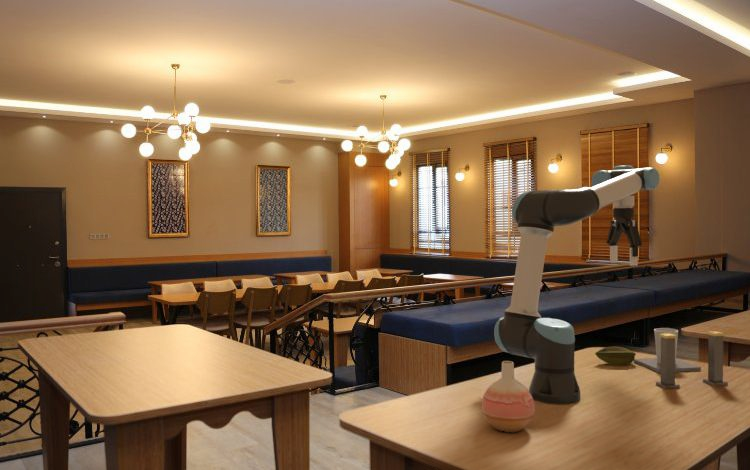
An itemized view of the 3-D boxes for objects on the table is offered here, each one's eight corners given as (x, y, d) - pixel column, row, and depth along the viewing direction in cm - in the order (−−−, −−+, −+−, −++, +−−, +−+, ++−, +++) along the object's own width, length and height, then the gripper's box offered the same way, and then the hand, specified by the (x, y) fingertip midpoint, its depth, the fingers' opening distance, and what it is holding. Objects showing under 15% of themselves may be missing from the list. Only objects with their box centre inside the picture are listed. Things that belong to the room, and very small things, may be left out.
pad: (659, 372, 219) (659, 369, 219) (633, 362, 235) (633, 359, 235) (700, 370, 221) (700, 367, 221) (672, 360, 237) (672, 357, 237)
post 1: (665, 389, 199) (665, 336, 198) (655, 384, 204) (656, 333, 203) (679, 388, 200) (679, 335, 199) (669, 383, 205) (670, 332, 204)
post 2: (713, 386, 202) (714, 334, 201) (703, 382, 207) (703, 331, 206) (727, 385, 202) (728, 333, 202) (717, 381, 207) (717, 330, 207)
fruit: (627, 369, 224) (627, 351, 224) (594, 364, 232) (594, 347, 231) (637, 363, 233) (637, 346, 233) (605, 359, 240) (605, 342, 240)
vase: (524, 441, 155) (524, 371, 154) (473, 432, 162) (473, 364, 162) (541, 425, 167) (541, 359, 166) (493, 417, 174) (492, 354, 173)
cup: (681, 365, 223) (681, 332, 223) (657, 365, 225) (657, 332, 224) (674, 360, 231) (674, 328, 231) (651, 360, 232) (651, 328, 232)
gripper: (652, 206, 222) (652, 266, 223) (615, 207, 247) (615, 261, 248) (632, 207, 221) (632, 267, 222) (597, 207, 246) (597, 261, 247)
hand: (623, 264), depth 235 cm, fingers open, 13 cm apart
